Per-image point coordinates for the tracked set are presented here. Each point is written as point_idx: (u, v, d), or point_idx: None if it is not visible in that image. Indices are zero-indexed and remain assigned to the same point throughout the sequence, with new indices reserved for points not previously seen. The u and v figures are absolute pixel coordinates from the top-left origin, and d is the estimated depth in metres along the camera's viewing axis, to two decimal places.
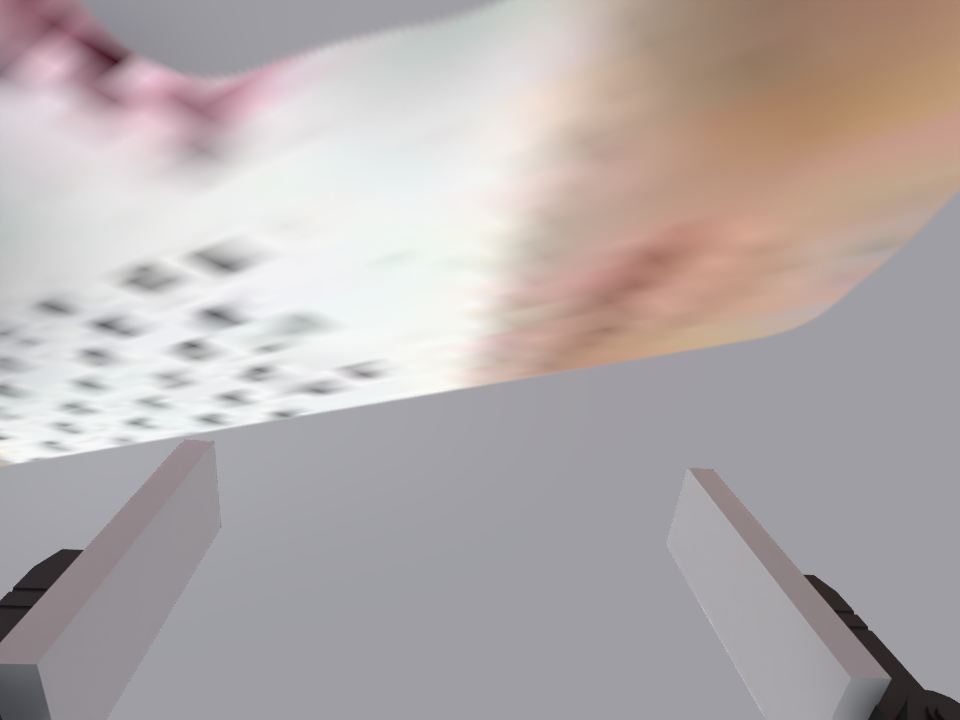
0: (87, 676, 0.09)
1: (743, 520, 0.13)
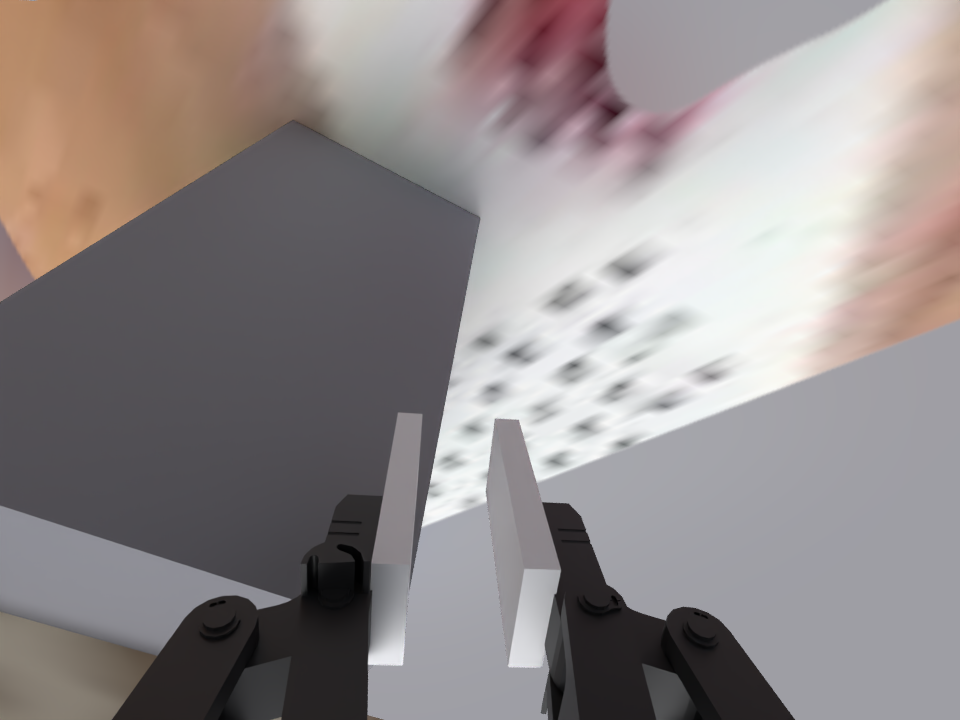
0: None
1: (516, 458, 0.15)
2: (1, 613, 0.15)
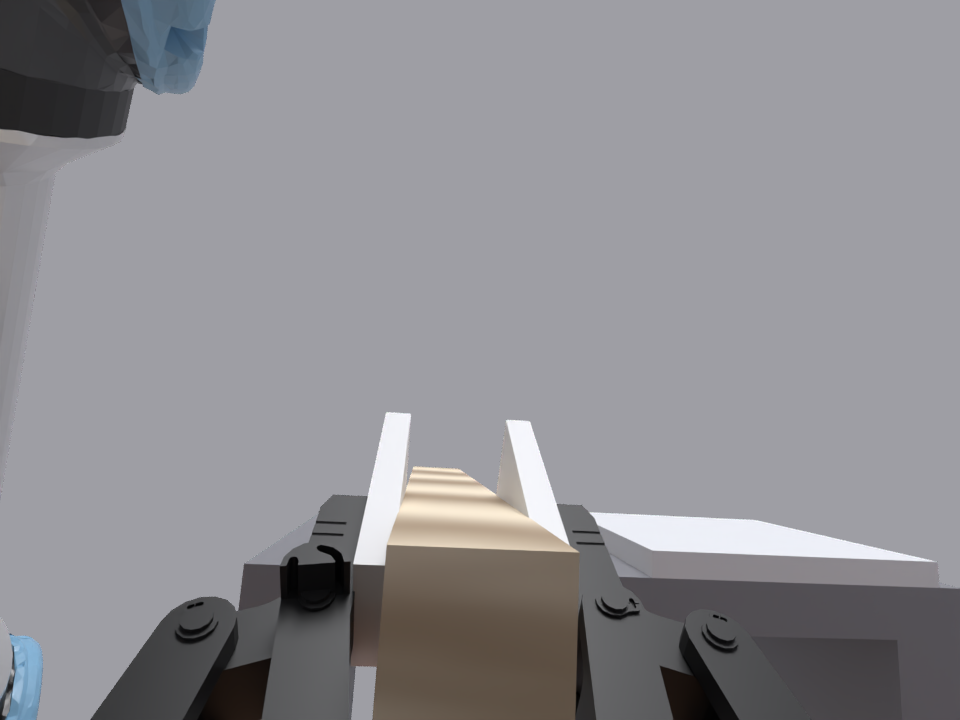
0: None
1: (529, 459, 0.15)
2: None
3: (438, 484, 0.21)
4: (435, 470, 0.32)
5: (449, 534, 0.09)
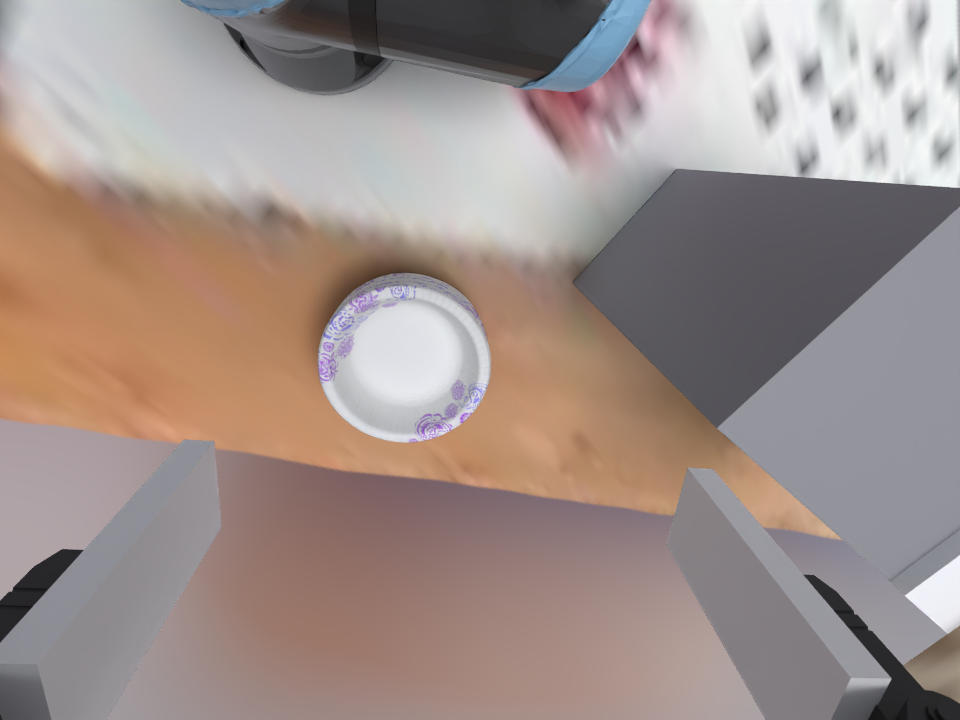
0: (87, 676, 0.09)
1: (743, 520, 0.13)
2: None
3: None
4: None
5: None
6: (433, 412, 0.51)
